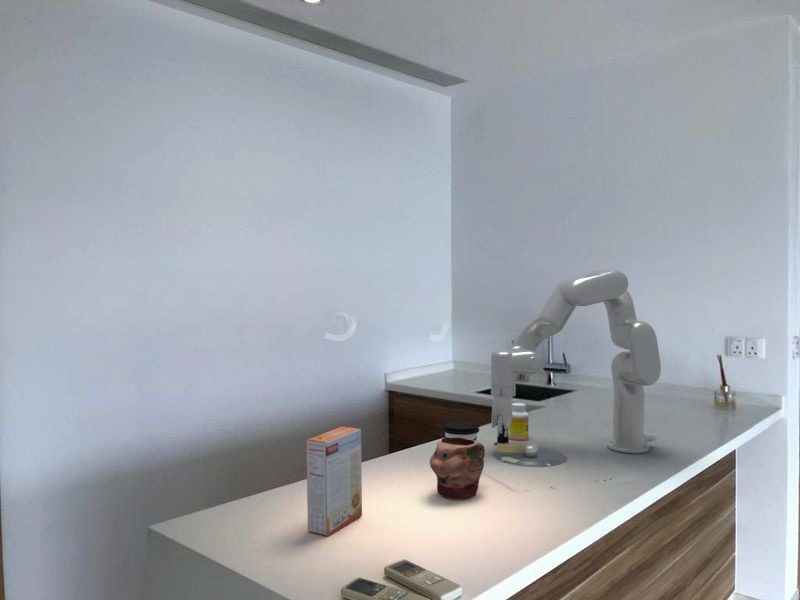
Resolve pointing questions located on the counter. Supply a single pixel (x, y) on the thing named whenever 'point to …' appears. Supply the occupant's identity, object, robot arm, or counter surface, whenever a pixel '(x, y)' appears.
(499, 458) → the dial
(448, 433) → the coffee cup
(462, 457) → the decorative planter
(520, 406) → the supplement bottle
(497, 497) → the counter surface
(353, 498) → the cracker box
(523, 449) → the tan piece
